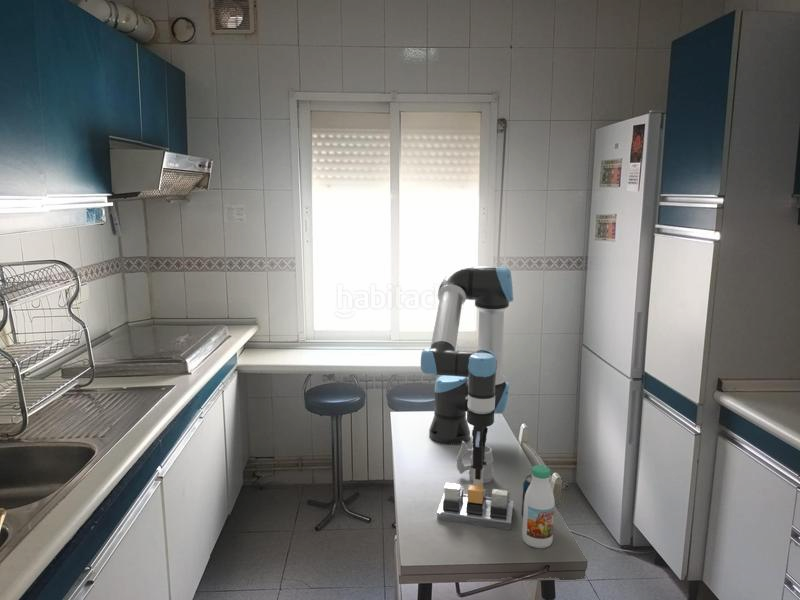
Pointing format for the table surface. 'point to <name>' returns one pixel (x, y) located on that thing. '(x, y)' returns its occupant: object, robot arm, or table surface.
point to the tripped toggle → (475, 494)
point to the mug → (460, 466)
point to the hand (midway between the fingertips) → (477, 487)
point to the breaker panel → (476, 520)
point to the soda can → (525, 489)
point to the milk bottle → (538, 509)
